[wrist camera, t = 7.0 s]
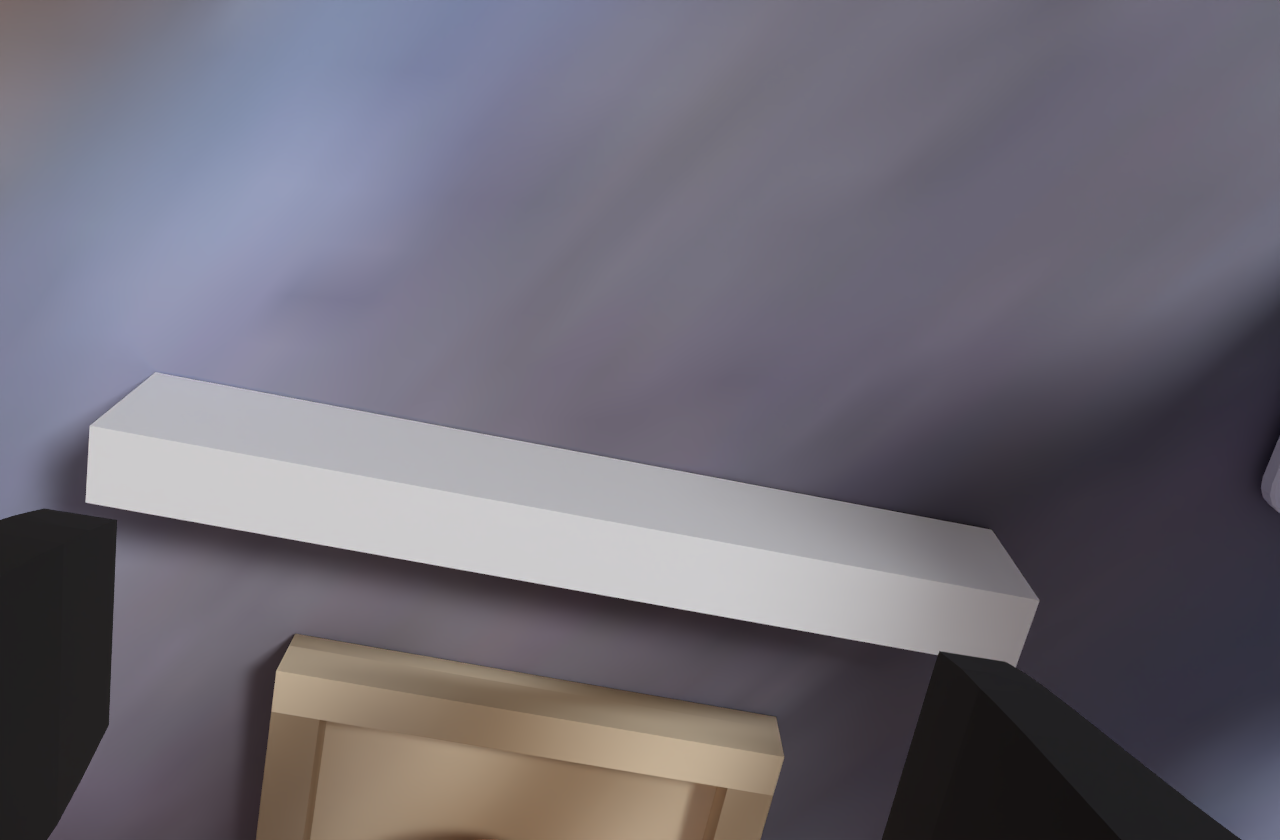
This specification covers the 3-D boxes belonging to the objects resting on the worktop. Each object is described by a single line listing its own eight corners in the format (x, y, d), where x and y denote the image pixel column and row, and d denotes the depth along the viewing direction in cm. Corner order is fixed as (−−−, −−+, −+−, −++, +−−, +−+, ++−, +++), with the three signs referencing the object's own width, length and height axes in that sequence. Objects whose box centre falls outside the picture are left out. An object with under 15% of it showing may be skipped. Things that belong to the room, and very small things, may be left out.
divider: (991, 529, 20) (1039, 600, 18) (971, 591, 21) (1015, 668, 18) (155, 372, 19) (89, 425, 17) (150, 440, 20) (85, 502, 17)
